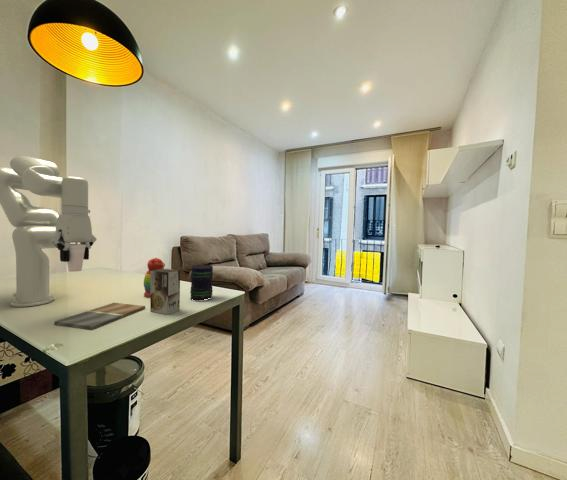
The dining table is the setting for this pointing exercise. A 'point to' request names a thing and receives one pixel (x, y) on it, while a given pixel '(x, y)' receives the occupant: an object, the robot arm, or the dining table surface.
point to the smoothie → (76, 257)
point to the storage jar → (201, 282)
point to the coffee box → (164, 291)
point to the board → (99, 316)
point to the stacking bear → (152, 265)
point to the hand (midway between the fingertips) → (75, 259)
